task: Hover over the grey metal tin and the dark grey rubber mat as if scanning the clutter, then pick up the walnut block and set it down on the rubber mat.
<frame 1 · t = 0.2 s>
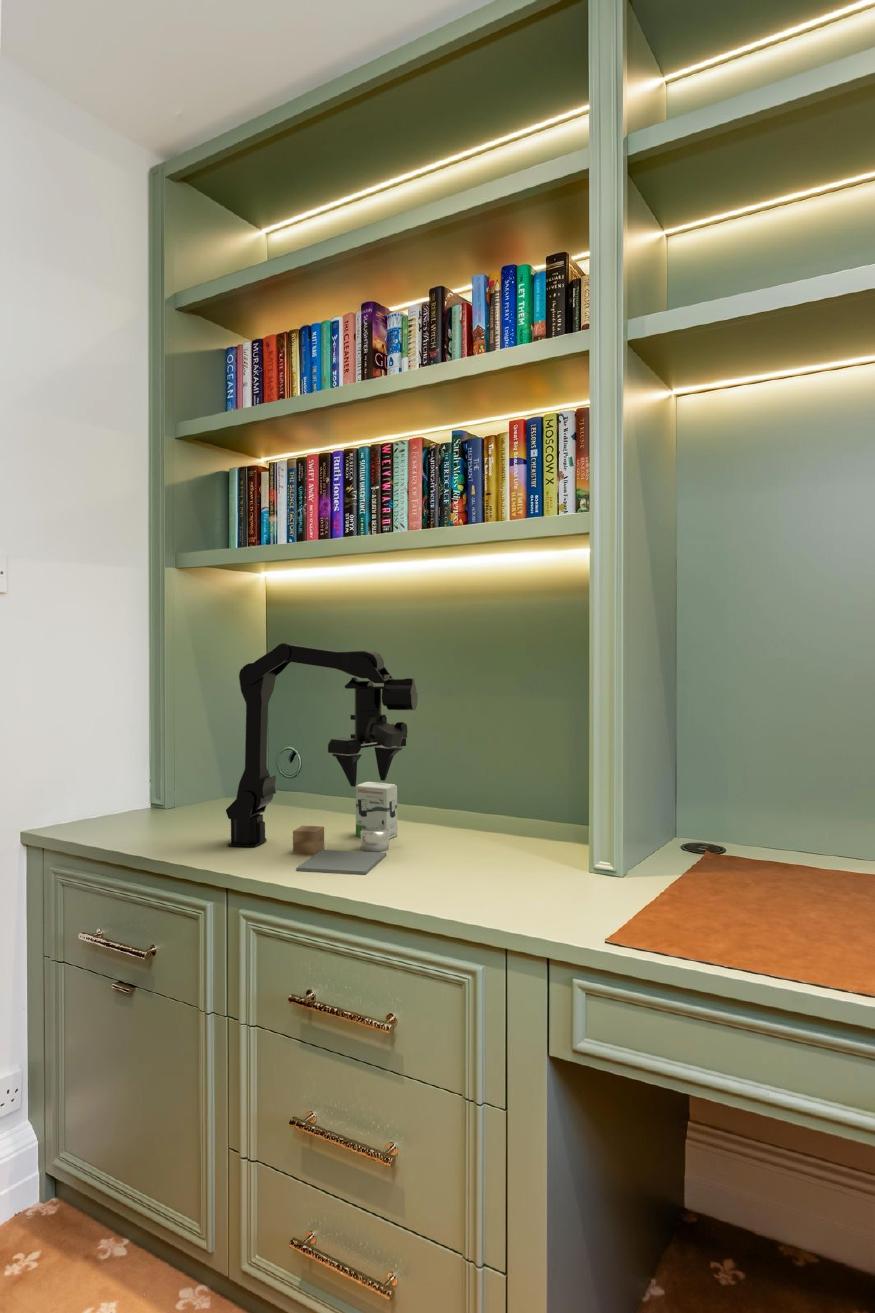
hand: (368, 783, 169), 14 cm above the table, fingers open, 9 cm apart
ink box: (376, 837, 181), on the table
tin: (375, 849, 170), on the table
mat: (342, 862, 159), on the table
walnut block: (308, 852, 168), on the table
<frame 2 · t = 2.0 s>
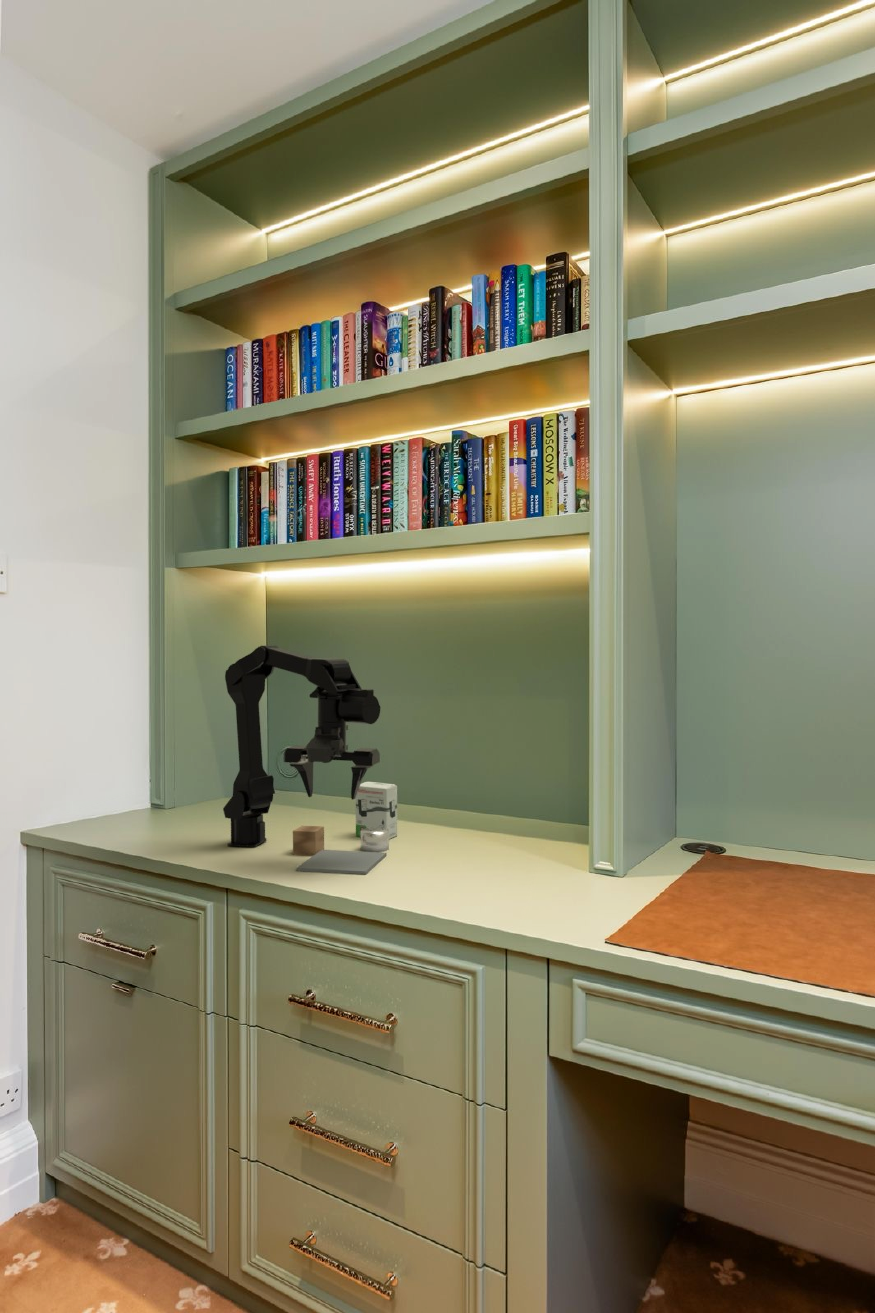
hand: (331, 797, 161), 13 cm above the table, fingers open, 9 cm apart
nothing on the table moved.
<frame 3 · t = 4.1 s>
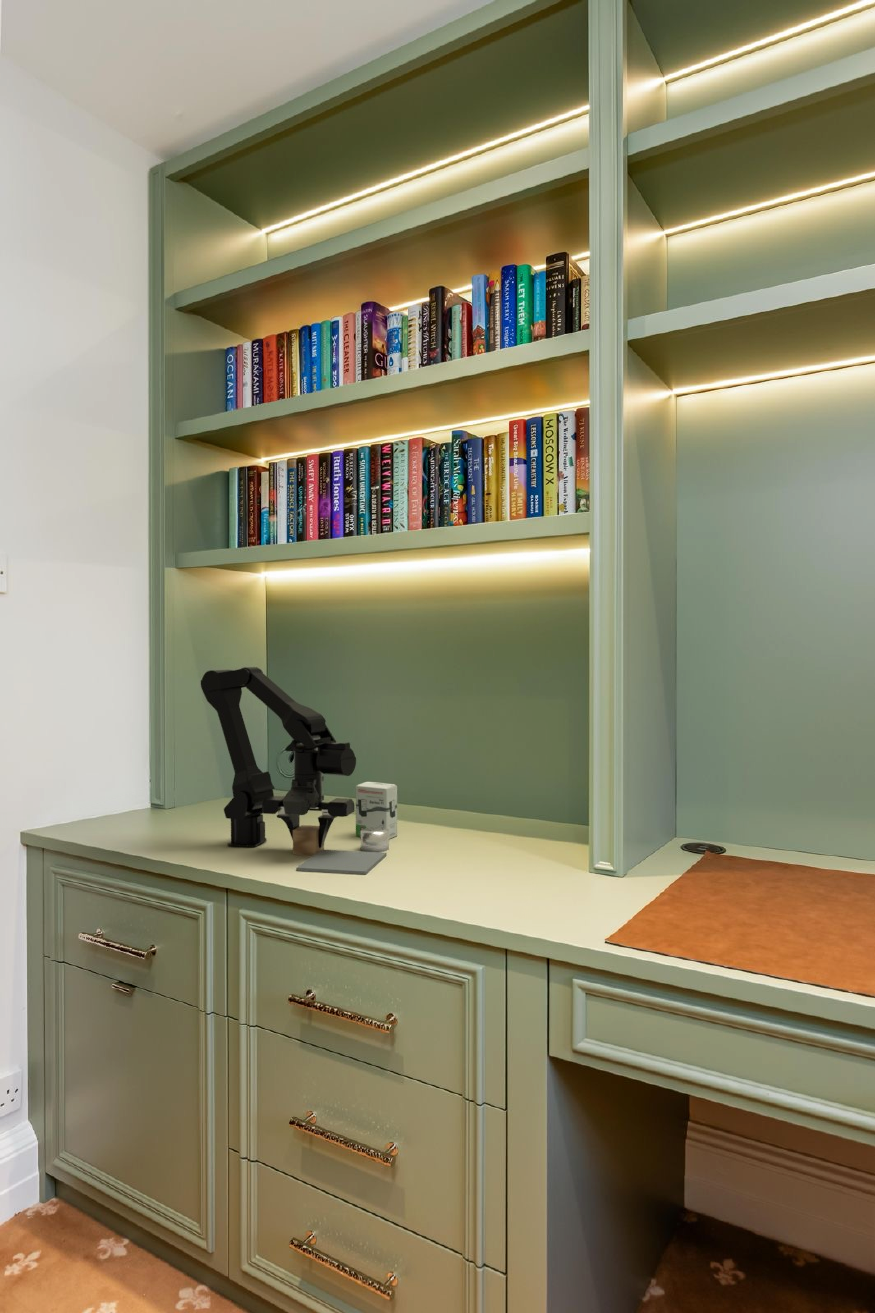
hand: (308, 846, 168), 1 cm above the table, fingers closed on walnut block, 5 cm apart
walnut block: (308, 851, 168), on the table, touching gripper
everything else where it was.
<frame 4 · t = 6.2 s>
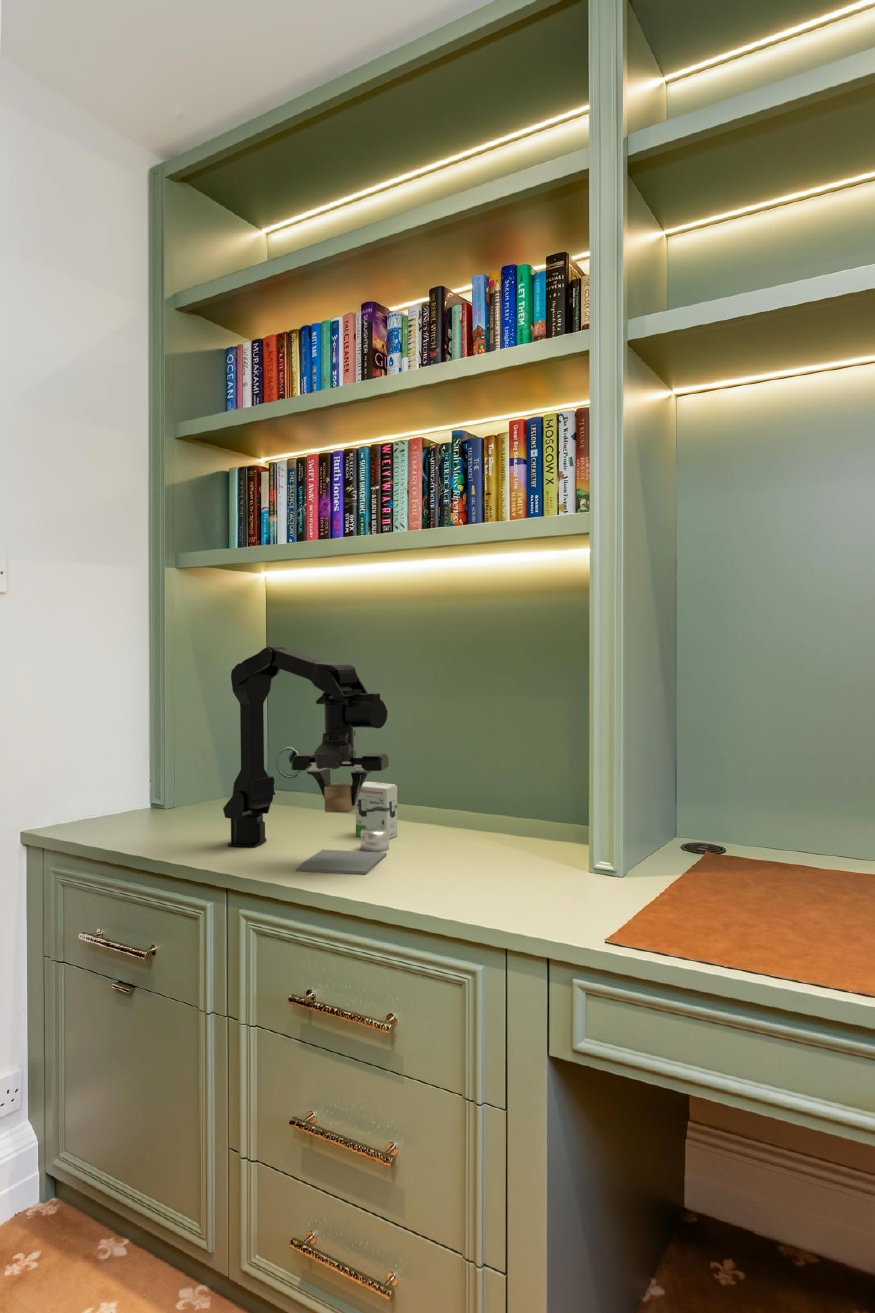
hand: (341, 805, 159), 11 cm above the table, fingers closed on walnut block, 5 cm apart
walnut block: (341, 810, 159), point 10 cm above the table, touching gripper
everything else where it was.
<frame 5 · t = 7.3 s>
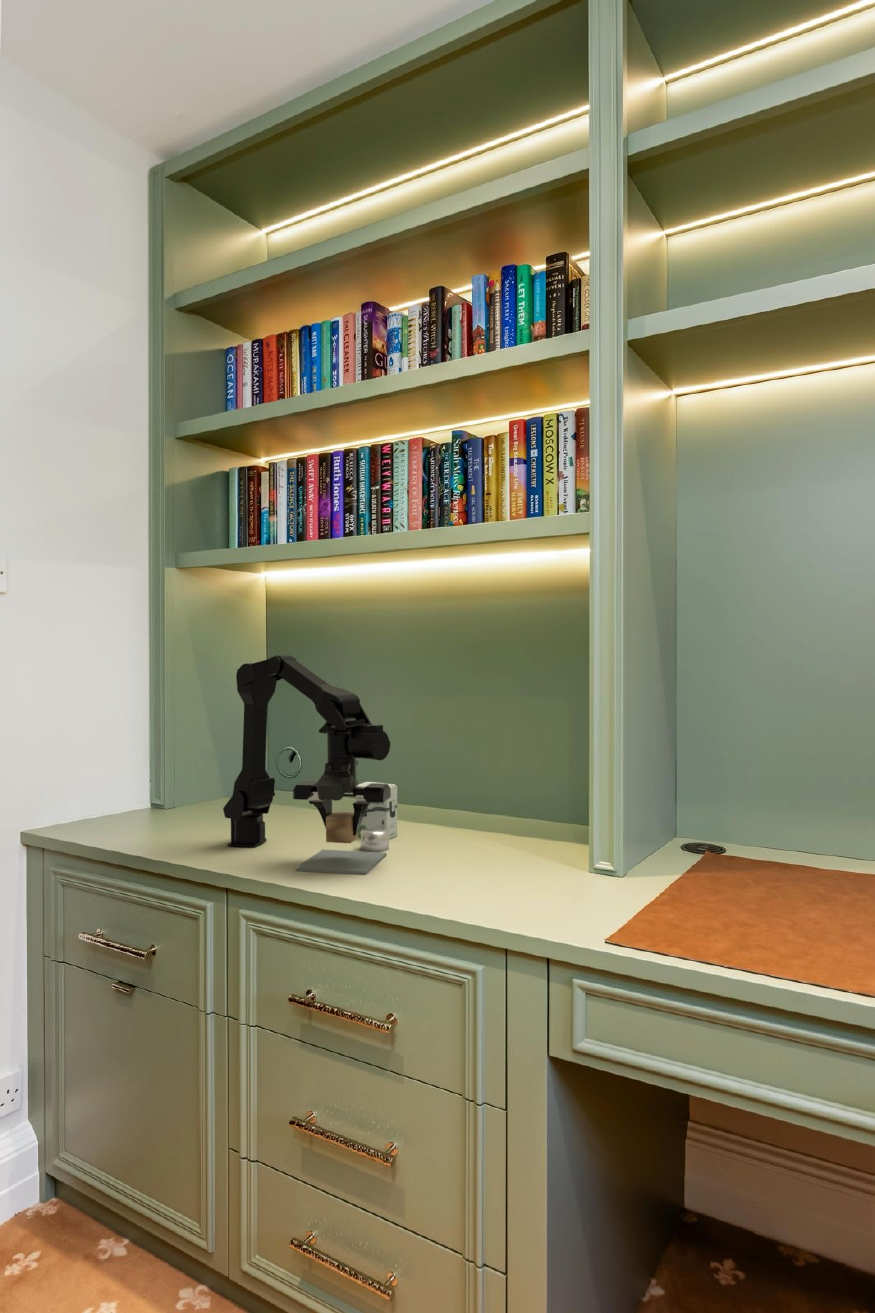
hand: (342, 834, 159), 6 cm above the table, fingers closed on walnut block, 5 cm apart
walnut block: (342, 839, 159), point 5 cm above the table, touching gripper
everything else where it was.
when the fingers open (3 cm above the table, at t = 8.3 s): walnut block stays where it is, resting on mat.
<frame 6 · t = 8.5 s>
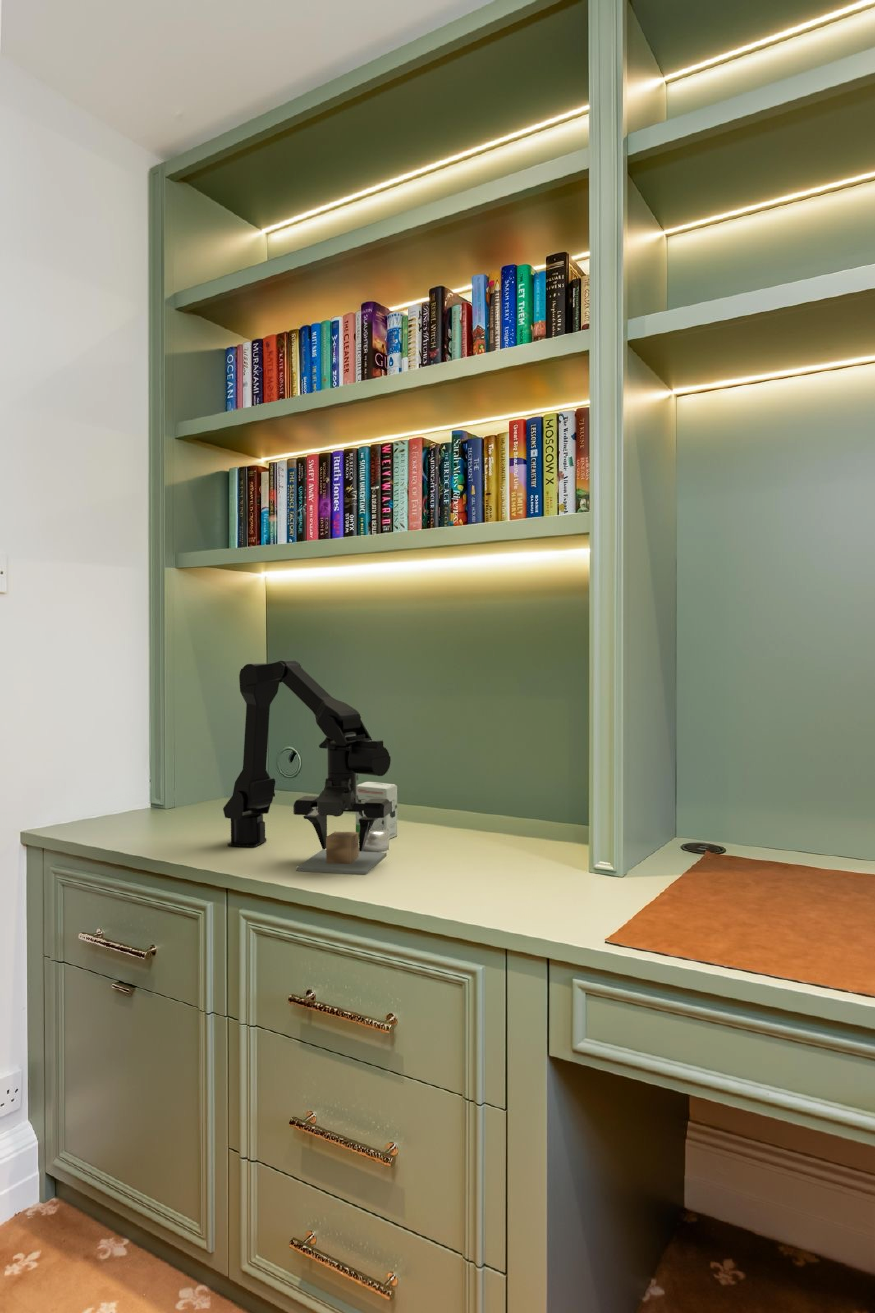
hand: (342, 849, 159), 3 cm above the table, fingers open, 7 cm apart
walnut block: (342, 859, 159), point 1 cm above the table, touching mat
everything else where it was.
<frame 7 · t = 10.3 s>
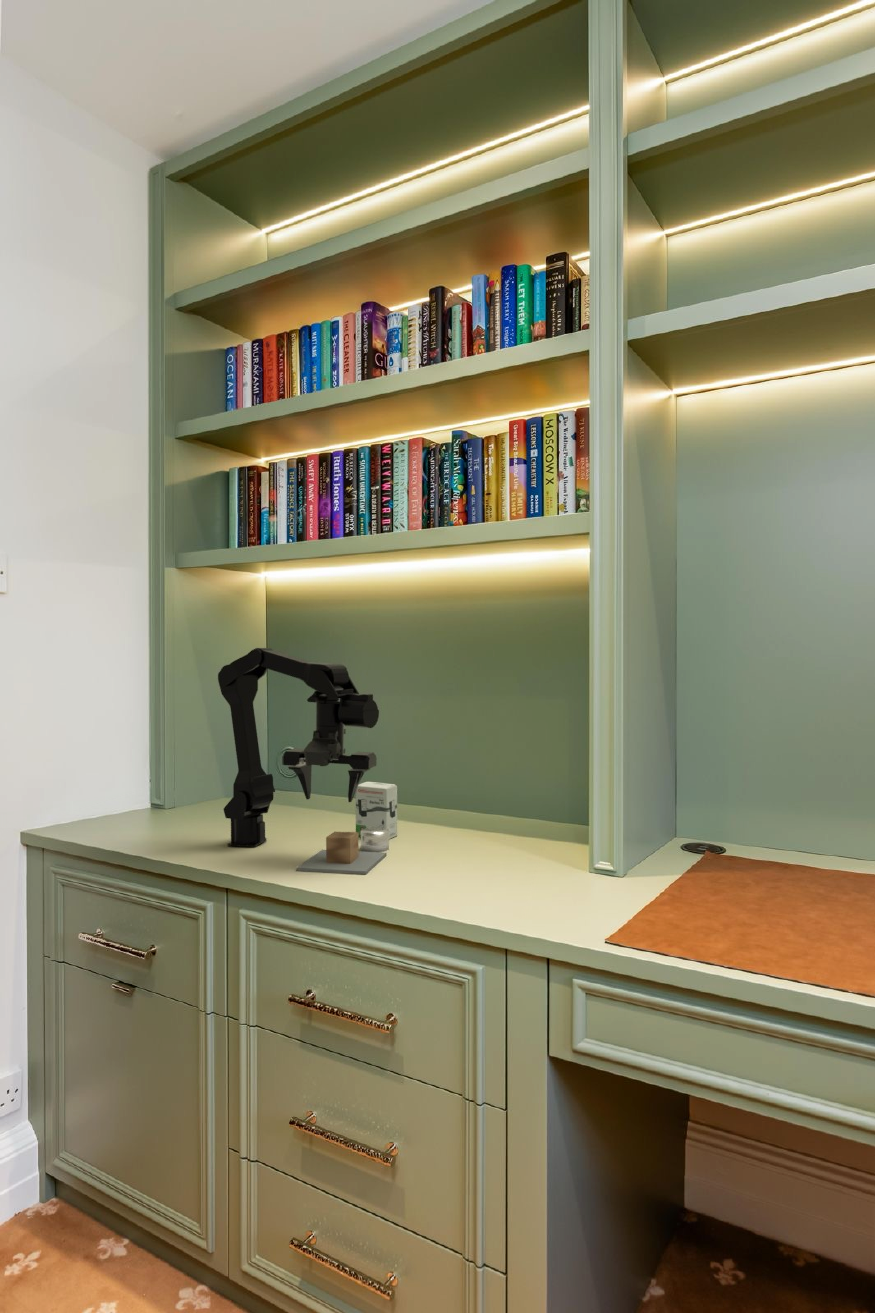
hand: (329, 800, 164), 11 cm above the table, fingers open, 9 cm apart
nothing on the table moved.
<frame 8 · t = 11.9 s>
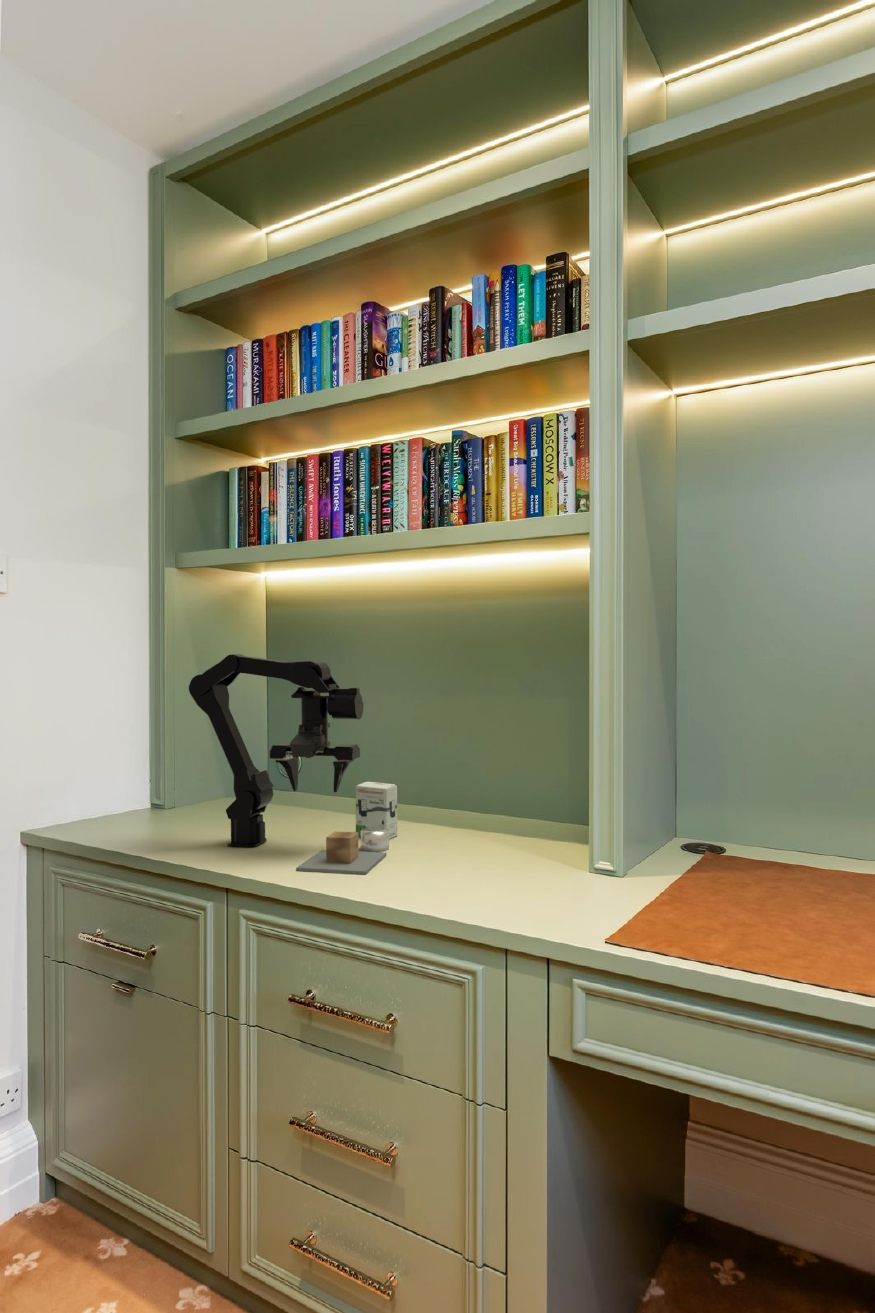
hand: (315, 791, 172), 12 cm above the table, fingers open, 9 cm apart
nothing on the table moved.
at the end: walnut block inside the target area on the mat (0.1 cm from its centre), point 0.6 cm above the mat's base; the gripper is holding nothing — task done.
